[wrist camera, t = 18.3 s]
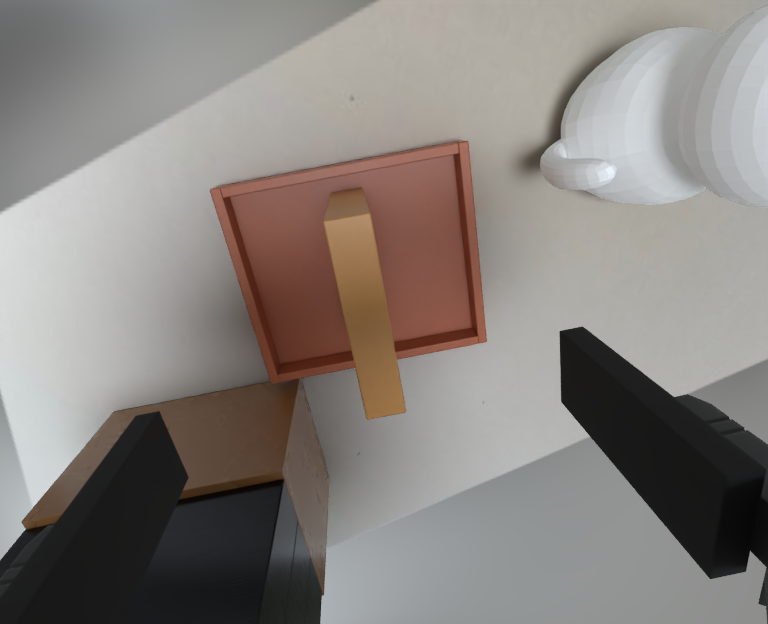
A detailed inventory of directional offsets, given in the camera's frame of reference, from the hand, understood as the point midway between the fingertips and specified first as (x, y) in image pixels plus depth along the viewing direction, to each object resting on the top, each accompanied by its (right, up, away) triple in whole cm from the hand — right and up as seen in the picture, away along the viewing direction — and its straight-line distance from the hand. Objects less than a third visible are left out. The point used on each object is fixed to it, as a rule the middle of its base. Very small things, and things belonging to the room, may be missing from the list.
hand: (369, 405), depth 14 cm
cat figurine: (+15, +15, +14) cm, 25 cm away
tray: (-1, +6, +15) cm, 17 cm away
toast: (-1, +6, +15) cm, 16 cm away
